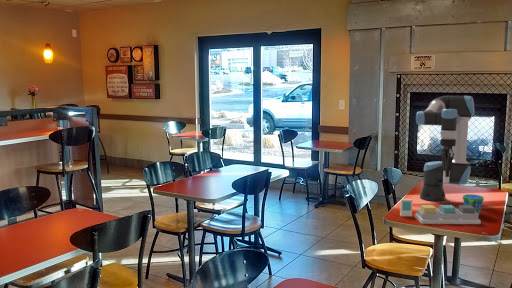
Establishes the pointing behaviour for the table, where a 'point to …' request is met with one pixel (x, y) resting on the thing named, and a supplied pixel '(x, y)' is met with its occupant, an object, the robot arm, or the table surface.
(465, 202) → the snack cup
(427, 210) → the mustard button
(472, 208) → the charcoal button
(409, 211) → the sign
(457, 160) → the robot arm
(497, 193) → the table surface
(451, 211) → the teal button
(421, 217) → the board
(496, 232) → the table surface
